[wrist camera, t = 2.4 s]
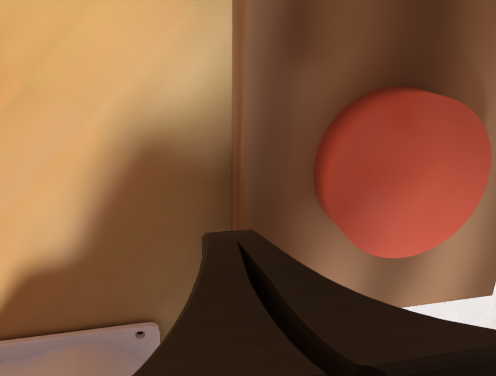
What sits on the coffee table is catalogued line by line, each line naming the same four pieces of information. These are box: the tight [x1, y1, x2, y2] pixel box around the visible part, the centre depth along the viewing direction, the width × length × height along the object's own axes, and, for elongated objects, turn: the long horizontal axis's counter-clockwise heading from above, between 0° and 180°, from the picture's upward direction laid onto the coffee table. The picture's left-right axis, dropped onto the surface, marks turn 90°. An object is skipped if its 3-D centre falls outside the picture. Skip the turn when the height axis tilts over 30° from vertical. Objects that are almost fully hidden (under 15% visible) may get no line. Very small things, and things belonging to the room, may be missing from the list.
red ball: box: [313, 86, 492, 258], centre depth 19 cm, size 7×7×2 cm
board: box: [232, 0, 496, 308], centre depth 21 cm, size 14×16×3 cm
